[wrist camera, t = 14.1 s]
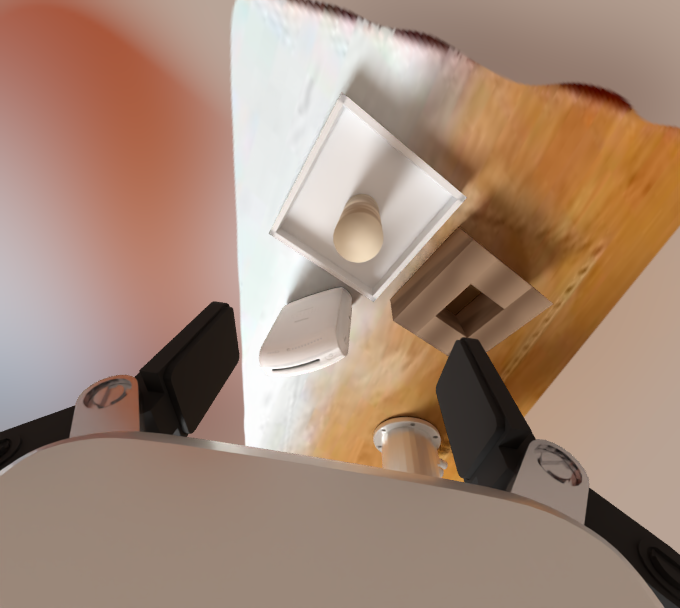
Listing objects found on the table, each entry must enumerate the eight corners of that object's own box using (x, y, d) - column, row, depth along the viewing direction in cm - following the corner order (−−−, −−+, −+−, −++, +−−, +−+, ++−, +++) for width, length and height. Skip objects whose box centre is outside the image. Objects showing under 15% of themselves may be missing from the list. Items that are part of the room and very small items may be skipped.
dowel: (381, 195, 28) (387, 215, 19) (376, 232, 30) (379, 264, 21) (345, 192, 28) (334, 210, 19) (342, 229, 30) (332, 260, 22)
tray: (459, 193, 27) (466, 197, 25) (373, 292, 35) (373, 301, 32) (344, 97, 24) (341, 91, 22) (275, 227, 31) (268, 233, 29)
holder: (528, 283, 32) (553, 304, 27) (454, 342, 37) (465, 367, 33) (458, 226, 29) (473, 239, 25) (390, 299, 35) (393, 320, 31)
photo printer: (346, 281, 34) (335, 339, 24) (357, 307, 36) (352, 372, 26) (280, 302, 37) (244, 363, 26) (293, 325, 39) (265, 391, 28)
